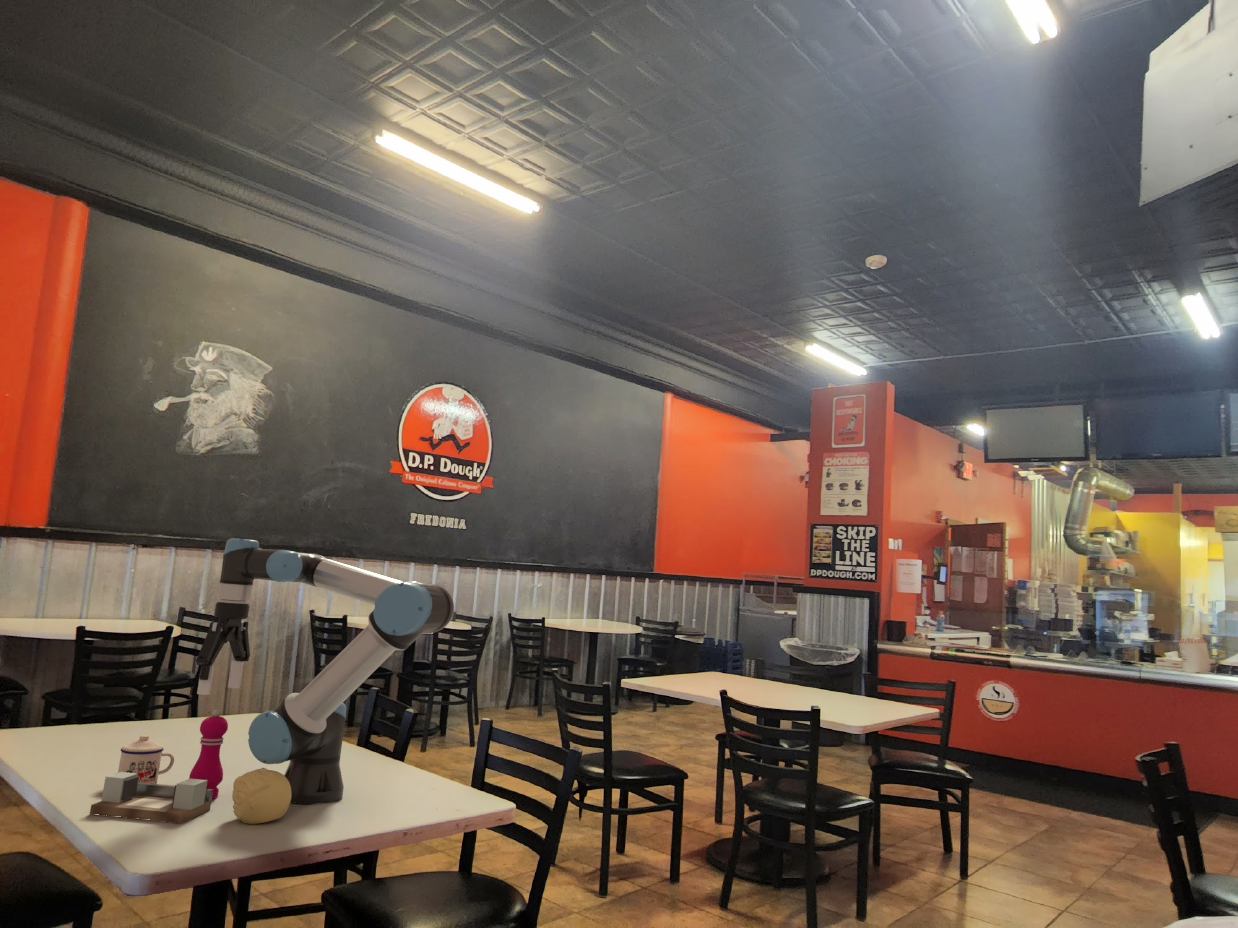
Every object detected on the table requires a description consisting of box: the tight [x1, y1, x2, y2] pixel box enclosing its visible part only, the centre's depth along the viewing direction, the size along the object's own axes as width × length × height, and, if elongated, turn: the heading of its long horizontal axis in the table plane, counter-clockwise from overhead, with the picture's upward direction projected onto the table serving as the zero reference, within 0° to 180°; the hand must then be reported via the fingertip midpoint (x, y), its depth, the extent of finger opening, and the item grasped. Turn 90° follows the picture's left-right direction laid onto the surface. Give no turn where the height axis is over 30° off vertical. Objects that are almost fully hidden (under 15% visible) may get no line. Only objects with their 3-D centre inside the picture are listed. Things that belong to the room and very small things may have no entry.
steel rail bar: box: [136, 782, 213, 802], centre depth 180 cm, size 20×1×2 cm, turn 87°
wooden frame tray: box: [89, 795, 212, 824], centre depth 174 cm, size 20×11×2 cm, turn 87°
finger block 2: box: [172, 778, 207, 810], centre depth 174 cm, size 5×5×5 cm
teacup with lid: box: [117, 734, 175, 784], centre depth 196 cm, size 12×9×12 cm
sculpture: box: [231, 767, 292, 825], centre depth 176 cm, size 12×12×11 cm
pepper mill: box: [188, 709, 229, 800], centre depth 190 cm, size 7×7×20 cm
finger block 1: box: [101, 772, 139, 803], centre depth 175 cm, size 5×5×5 cm
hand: (219, 691), depth 193 cm, fingers open, 13 cm apart
